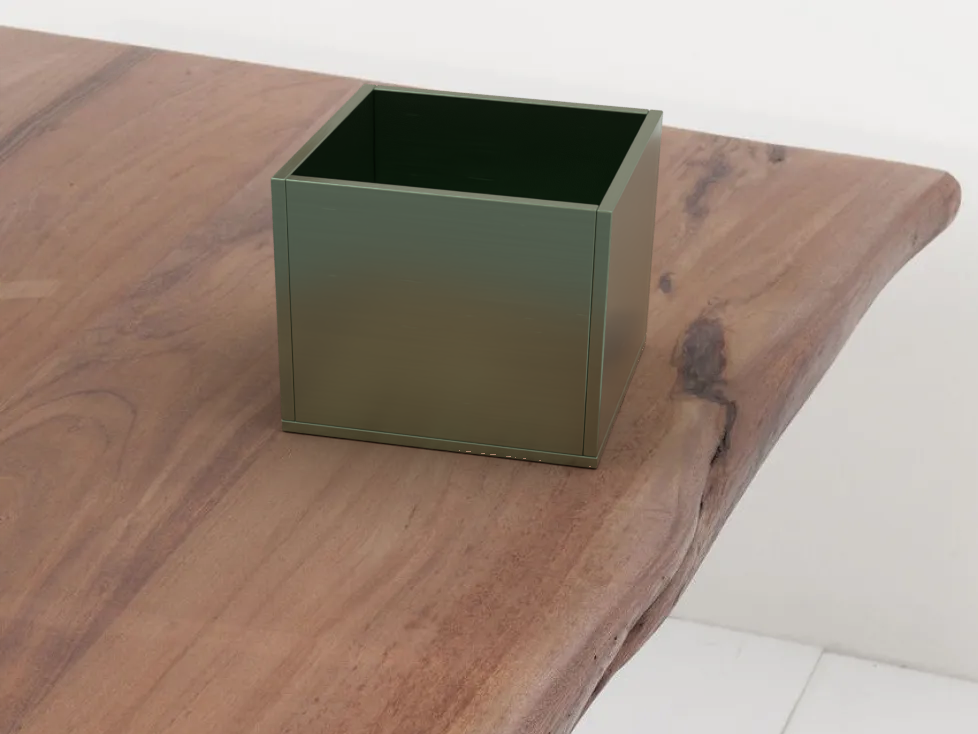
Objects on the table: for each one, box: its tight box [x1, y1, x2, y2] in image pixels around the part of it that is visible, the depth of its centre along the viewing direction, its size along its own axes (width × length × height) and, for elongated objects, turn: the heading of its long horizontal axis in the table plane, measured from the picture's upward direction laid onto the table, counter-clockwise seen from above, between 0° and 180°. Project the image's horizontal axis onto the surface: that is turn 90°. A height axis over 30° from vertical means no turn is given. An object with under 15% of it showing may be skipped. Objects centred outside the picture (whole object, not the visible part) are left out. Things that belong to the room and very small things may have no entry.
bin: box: [270, 83, 664, 469], centre depth 79 cm, size 13×13×10 cm
